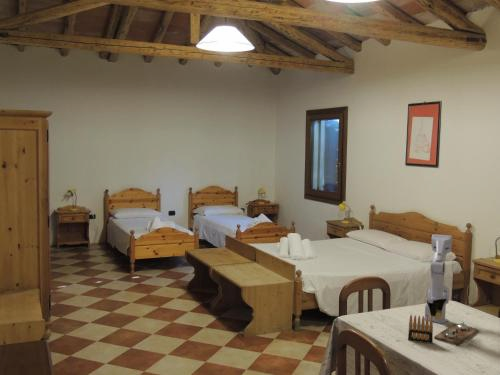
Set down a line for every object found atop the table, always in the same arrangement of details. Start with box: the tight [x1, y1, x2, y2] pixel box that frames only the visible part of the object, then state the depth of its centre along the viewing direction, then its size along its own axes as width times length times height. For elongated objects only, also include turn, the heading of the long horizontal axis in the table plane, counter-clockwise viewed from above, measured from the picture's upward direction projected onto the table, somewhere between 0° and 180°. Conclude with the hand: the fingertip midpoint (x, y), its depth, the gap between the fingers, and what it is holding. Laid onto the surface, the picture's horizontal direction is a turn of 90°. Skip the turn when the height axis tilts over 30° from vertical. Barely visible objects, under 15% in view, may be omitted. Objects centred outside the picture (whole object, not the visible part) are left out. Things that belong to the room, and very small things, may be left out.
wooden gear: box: [430, 310, 442, 319], centre depth 244 cm, size 6×6×3 cm
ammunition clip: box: [407, 314, 434, 344], centre depth 232 cm, size 11×2×12 cm, turn 71°
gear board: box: [433, 322, 479, 346], centre depth 240 cm, size 11×24×1 cm, turn 136°
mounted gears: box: [444, 321, 470, 339], centre depth 239 cm, size 6×20×3 cm, turn 136°
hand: (435, 314), depth 244 cm, fingers closed on wooden gear, 5 cm apart
